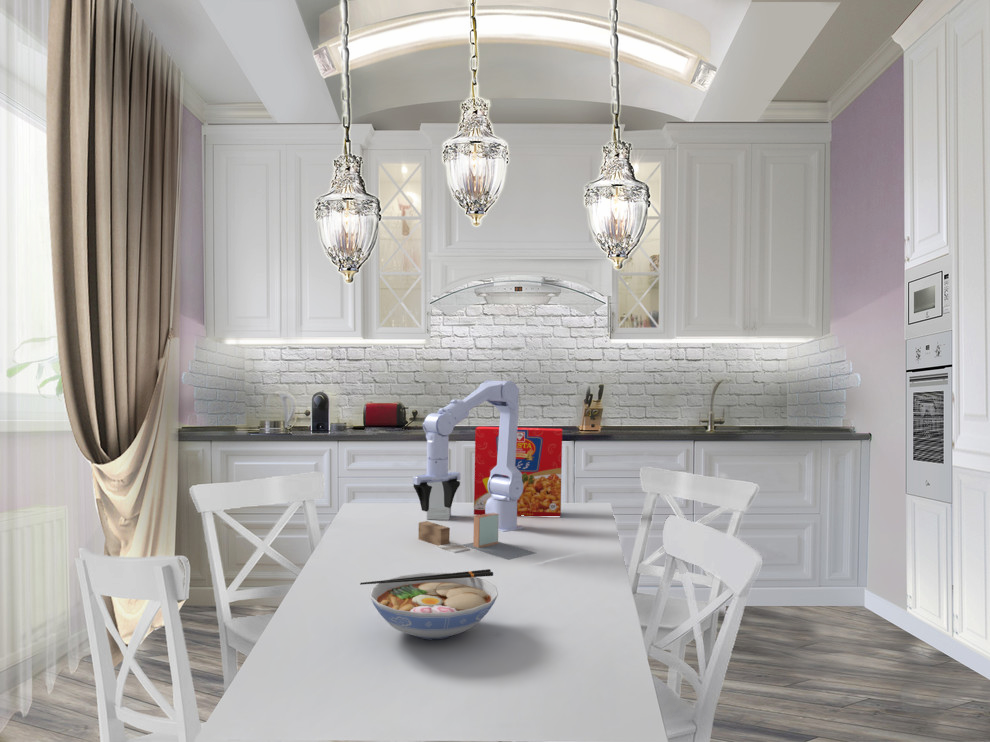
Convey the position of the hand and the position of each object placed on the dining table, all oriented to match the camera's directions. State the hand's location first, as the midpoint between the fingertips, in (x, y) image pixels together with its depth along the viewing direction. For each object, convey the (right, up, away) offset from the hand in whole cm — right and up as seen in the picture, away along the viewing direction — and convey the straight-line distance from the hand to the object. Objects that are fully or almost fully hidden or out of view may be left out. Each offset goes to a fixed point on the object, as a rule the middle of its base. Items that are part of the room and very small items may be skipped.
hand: (436, 509), depth 184 cm
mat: (+17, -10, -5) cm, 20 cm away
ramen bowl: (+5, -10, -61) cm, 62 cm away
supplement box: (-2, -10, +33) cm, 35 cm away
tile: (+13, -9, -1) cm, 16 cm away
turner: (+1, -10, -2) cm, 10 cm away
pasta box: (+23, -10, +41) cm, 48 cm away
